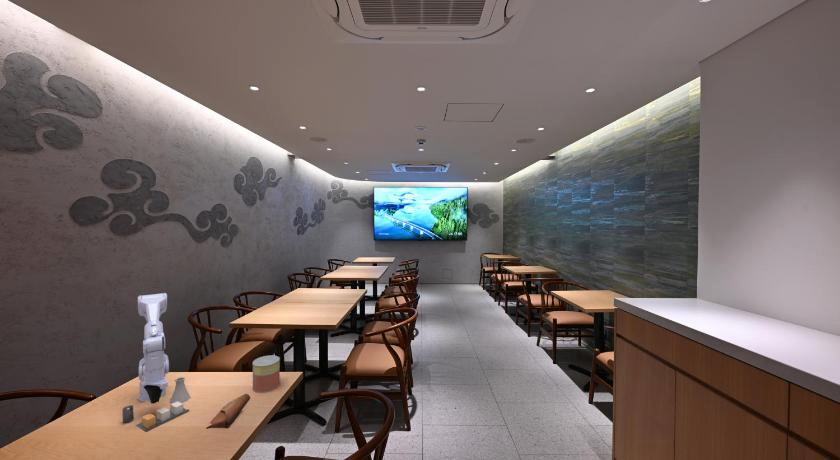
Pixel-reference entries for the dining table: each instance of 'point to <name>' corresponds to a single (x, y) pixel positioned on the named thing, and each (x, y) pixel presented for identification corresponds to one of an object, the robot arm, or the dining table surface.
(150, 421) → the toggle orange
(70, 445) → the dining table surface
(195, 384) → the dining table surface
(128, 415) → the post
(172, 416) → the panel
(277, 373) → the canned food
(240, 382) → the dining table surface
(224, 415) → the brown tapered rod
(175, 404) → the toggle near
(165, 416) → the toggle mid
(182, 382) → the flask
